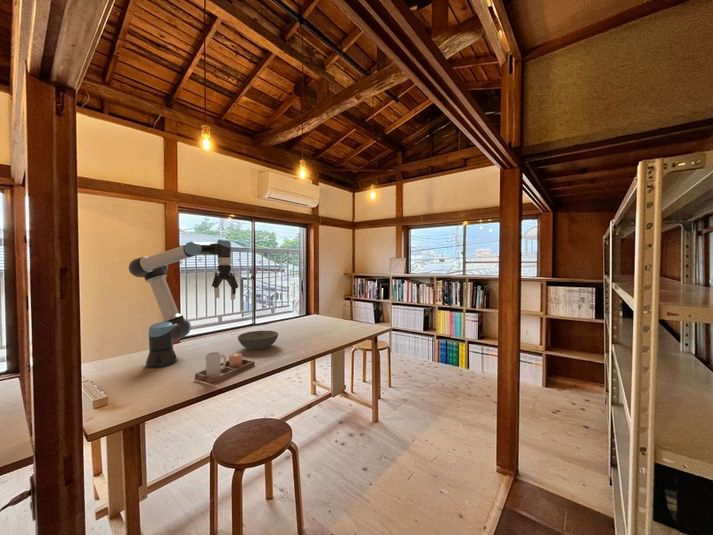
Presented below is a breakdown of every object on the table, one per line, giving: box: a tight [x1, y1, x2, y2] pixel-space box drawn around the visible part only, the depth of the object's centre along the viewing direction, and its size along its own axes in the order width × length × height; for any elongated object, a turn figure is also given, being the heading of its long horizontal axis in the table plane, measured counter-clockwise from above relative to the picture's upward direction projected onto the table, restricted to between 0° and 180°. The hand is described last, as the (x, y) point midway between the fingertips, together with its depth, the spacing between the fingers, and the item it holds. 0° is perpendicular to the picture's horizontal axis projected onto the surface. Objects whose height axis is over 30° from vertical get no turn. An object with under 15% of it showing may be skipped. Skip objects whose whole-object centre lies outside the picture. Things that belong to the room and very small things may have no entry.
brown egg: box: [228, 352, 243, 369], centre depth 165 cm, size 7×7×7 cm
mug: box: [205, 351, 227, 378], centre depth 153 cm, size 10×7×12 cm, turn 135°
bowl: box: [237, 330, 279, 351], centre depth 201 cm, size 26×26×10 cm
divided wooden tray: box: [194, 358, 256, 386], centre depth 159 cm, size 15×26×3 cm, turn 155°
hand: (225, 298), depth 182 cm, fingers open, 13 cm apart
